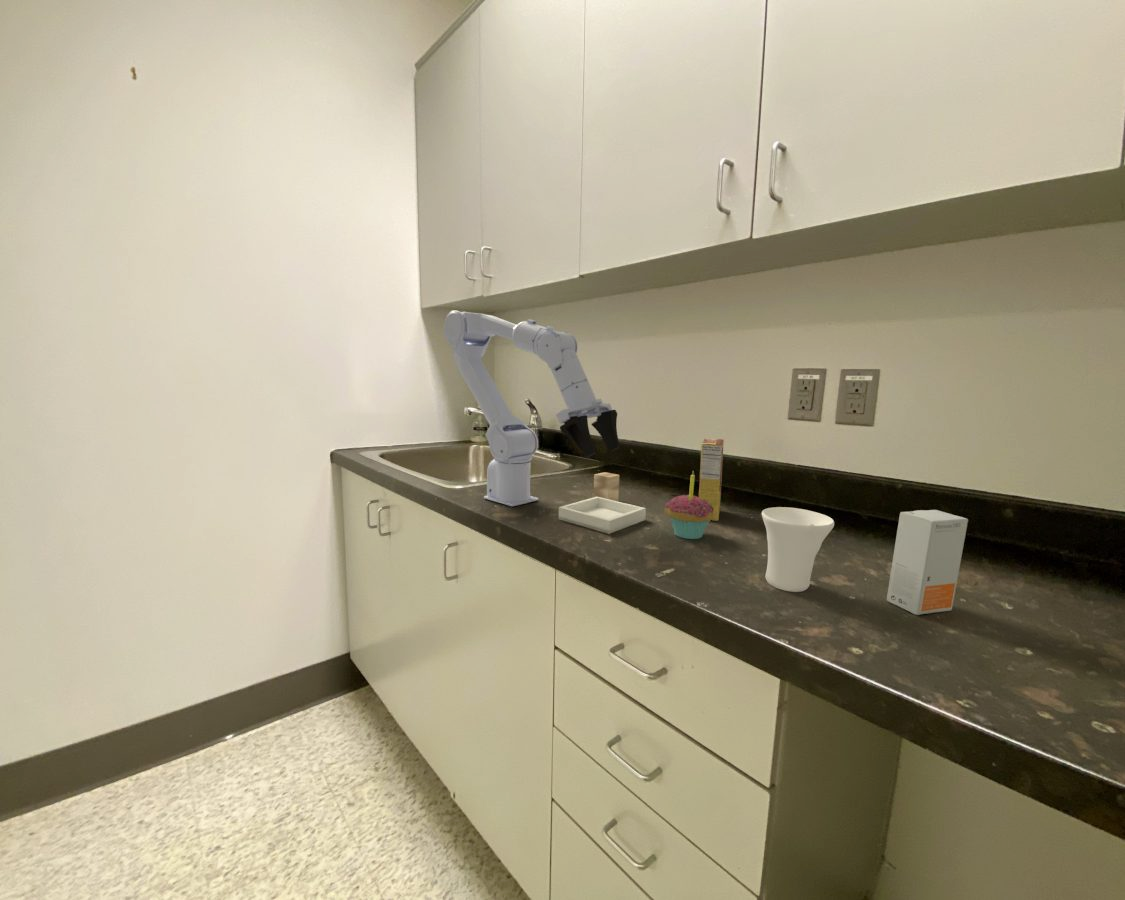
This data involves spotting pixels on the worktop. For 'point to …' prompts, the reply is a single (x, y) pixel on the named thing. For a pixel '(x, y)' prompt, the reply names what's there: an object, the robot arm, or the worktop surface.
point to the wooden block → (606, 486)
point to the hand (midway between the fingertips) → (603, 452)
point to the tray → (602, 514)
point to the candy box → (711, 473)
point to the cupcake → (689, 514)
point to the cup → (793, 545)
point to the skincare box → (926, 561)
